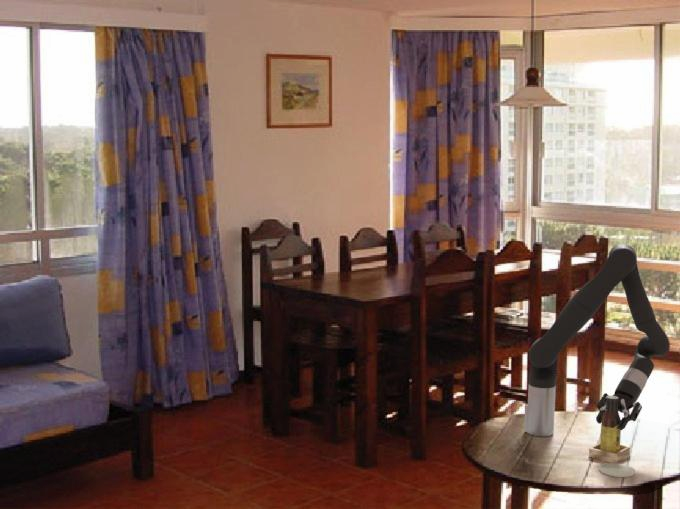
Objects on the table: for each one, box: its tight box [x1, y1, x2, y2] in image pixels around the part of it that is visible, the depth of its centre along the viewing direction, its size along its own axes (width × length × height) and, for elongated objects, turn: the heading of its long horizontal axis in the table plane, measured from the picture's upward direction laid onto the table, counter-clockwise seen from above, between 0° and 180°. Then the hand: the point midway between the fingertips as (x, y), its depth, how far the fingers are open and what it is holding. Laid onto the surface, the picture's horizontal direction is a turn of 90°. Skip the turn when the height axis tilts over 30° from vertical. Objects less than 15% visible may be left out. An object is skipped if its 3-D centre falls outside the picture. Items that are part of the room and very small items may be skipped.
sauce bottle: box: [599, 395, 622, 454], centre depth 343 cm, size 7×6×20 cm
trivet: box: [598, 462, 636, 478], centre depth 331 cm, size 11×11×1 cm
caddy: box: [588, 442, 631, 463], centre depth 344 cm, size 9×10×3 cm
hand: (608, 425), depth 342 cm, fingers open, 8 cm apart
